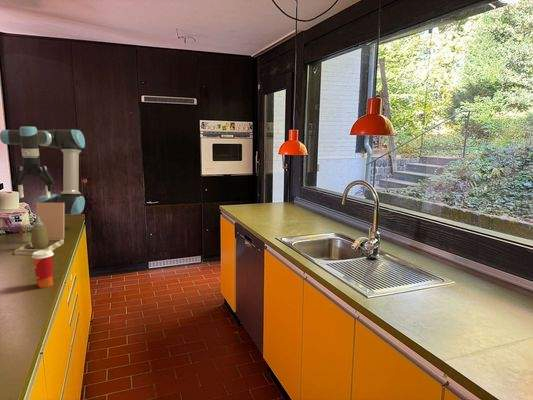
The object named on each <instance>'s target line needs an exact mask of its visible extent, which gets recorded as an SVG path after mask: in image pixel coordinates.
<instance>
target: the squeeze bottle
mask: <svg viewBox="0 0 533 400" xmlns="http://www.w3.org/2000/svg"><path fill="white" fill-rule="evenodd" d="M43 225H44V224H43V222H41V220H40V218H39V216H36V215H35V222H33V223H32V226H33V227H31V231H30V233H31V234H30V235H31V236H30V237H31V238H30V240H31V241H30V242H31V244H32V246H33V247H32V248H33V249H46V248H47V247H49V246H48V245H49V244H48V242H49V240H48V235H47V231H46V227H45V226H43Z"/></svg>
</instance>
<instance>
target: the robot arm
mask: <svg viewBox="0 0 533 400" xmlns="http://www.w3.org/2000/svg"><path fill="white" fill-rule="evenodd" d="M0 141H1V143H2V144H3V145H20V148H21V156H22V159H21V160H22V165H18V166H16V172H15V174H14V177H13V179H12V182H11V184H12V185H15V186H16V191H17V192H18V197H19V199H22V198H24V197H25V195H24V186H23V184H22V183H23V182H24V181H25V180H26V178H27V177H28V176H36V177H38V178H39V179H40V180H41V181H42V182H43V183H44V184H45V186H44V187H45V195H40V196H38V197H37V199H36V203H64V216H65V215H73V216H74V215H80V214H81V213H82V212H83V211H84V209H85V204H86V200H85V197H84V196H83V195H82V193H81V192H80V191H79V190H80V189H79V186H80V184H79V181H80V180H79V177H80V176H79V175H80V174H79V172H80V171H79V170H80V169H79V168H80V167H79V165H80V164H79V163H80V162H79V161H80V157H79V156H80V155H79V154H81V152H82V149H84V148H85V146H86V141H85V137H84V134H83V132H82V131H81V130H80V129H59V128H58V129H47V130H42V129H37V127H36V126H30V125H29V126H20V127H19V129H2V130H1V131H0ZM39 146H41V147H49V148H55V149H60V151H61V152H62V153H63V171H62V172H63V184H62V185H63V186H62V187H63V188H62V189H63V191H61V192H60V196H59V194H58V193H51V192H52V185H54V184H55V183H56V182H55V180H54V179H53V176H52V175H51V173H50V172H49V170H48V167H47V166H46V165H45V166H41V159H40V148H39ZM22 171H24V172H23V173H22ZM21 174H22V175H21Z"/></svg>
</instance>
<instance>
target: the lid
mask: <svg viewBox="0 0 533 400" xmlns="http://www.w3.org/2000/svg"><path fill="white" fill-rule="evenodd" d="M36 216H39V218H40V220H41V222H43V224H44V225H43V226H45V227H46V231H47V235H48V239H65V215H64V203H37V202H35V217H36Z"/></svg>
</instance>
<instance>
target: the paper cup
mask: <svg viewBox="0 0 533 400" xmlns="http://www.w3.org/2000/svg"><path fill="white" fill-rule="evenodd" d="M54 255H55V253H54V252H53V250H52V251H51V250H49V251H48V250H45V251H44V250H41V251H36V252H34V253H33V255H31V259H32V262H33V263H32V264H33V269H34V273H35V275H34V276H35V279H36V285H37V288H39V289H46V288H50V287H51V286H53V285H54Z"/></svg>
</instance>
